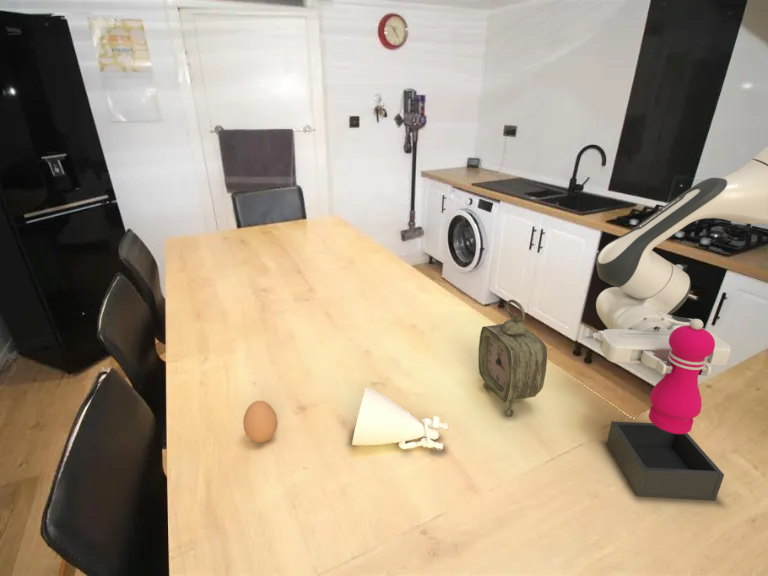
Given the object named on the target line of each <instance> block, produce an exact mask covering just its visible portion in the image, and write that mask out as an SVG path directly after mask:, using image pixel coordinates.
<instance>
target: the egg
mask: <svg viewBox="0 0 768 576" xmlns="http://www.w3.org/2000/svg"><path fill="white" fill-rule="evenodd" d="M242 421H243V430H244V433H245V435H246V436H247V438H248V439H249V440H251V441H253V442H254V443H265V442H268V441H269V440H271V439H272V437H273V436H274V435H275V433H276V432H277V427H278V417H277V414H276V411H275V409H274V408H273V407H272V405H270V404H269V403H268V402H267V401H265V400H256V401H253V402H252V403H251V404H249V405H248V406H247V409H246V410H245V413H244V416H243V420H242Z"/></svg>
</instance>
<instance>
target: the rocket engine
mask: <svg viewBox="0 0 768 576" xmlns="http://www.w3.org/2000/svg"><path fill="white" fill-rule="evenodd" d="M420 421H421V422H420ZM439 428H440V429H439ZM437 429H438V430H437ZM439 430H443V432H446V431H448V430H449V423H444V422H443V421H440V417H439V416H436V415H433V417H432V418H429V417H424V418H421V420H419V419H418V418H416V417H415V416H414V415H413V414H411V412H410V411H409V410H406V409H405V408H403V407H401V406H400V405H398V404H397V403H396V402H394V401H393V400H391V399H390V398H388V397H386V396H385V395H383V394H381V393H379V392H378V391H377V390H374V389H372V388H370V387H368V386H366V387H365V389H364V392H363V395H362V399H361V403H360V407H359V411H358V414H357V419H356V423H355V427H354V432H353V436H352V441H351V445H352V446H381V445H390V444H397V443H398V447H399V448H400V449H402V450H409V449H414V448H416V447H423V448H428V449H433V451H435V450H438V451H443V449H444V443H442V442H440V441H435V440H437V439H439V438H440V433H439ZM420 438H421V439H420ZM418 439H420V441H419V440H418ZM414 440H418V441H414ZM408 441H409V442H408ZM406 442H407V443H406Z"/></svg>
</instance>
